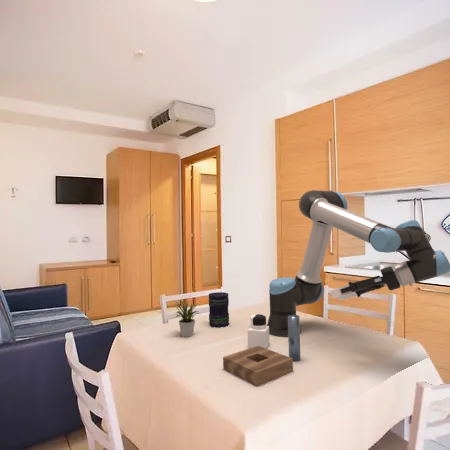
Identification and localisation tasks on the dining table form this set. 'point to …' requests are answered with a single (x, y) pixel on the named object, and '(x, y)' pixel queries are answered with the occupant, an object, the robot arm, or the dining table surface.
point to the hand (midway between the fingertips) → (334, 296)
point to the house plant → (186, 319)
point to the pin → (294, 337)
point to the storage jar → (218, 309)
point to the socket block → (258, 365)
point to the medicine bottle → (258, 332)
